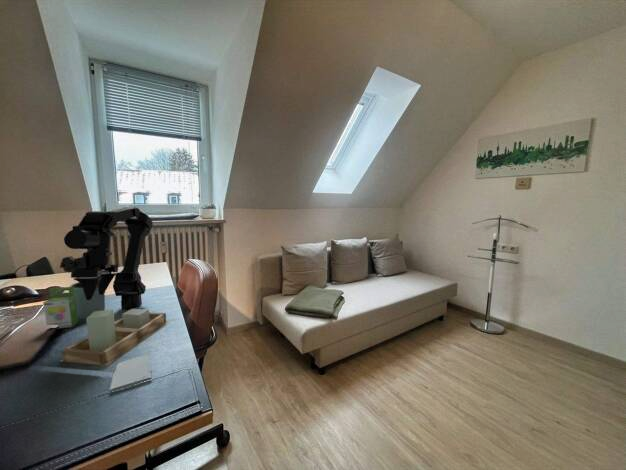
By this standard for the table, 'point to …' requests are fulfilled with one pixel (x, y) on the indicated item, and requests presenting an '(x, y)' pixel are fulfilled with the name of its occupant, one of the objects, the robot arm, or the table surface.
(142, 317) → the grey jaw block
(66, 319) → the ink box
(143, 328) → the oak housing tray
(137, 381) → the hard drive
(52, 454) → the table surface
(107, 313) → the green block
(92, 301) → the dark green round bin
